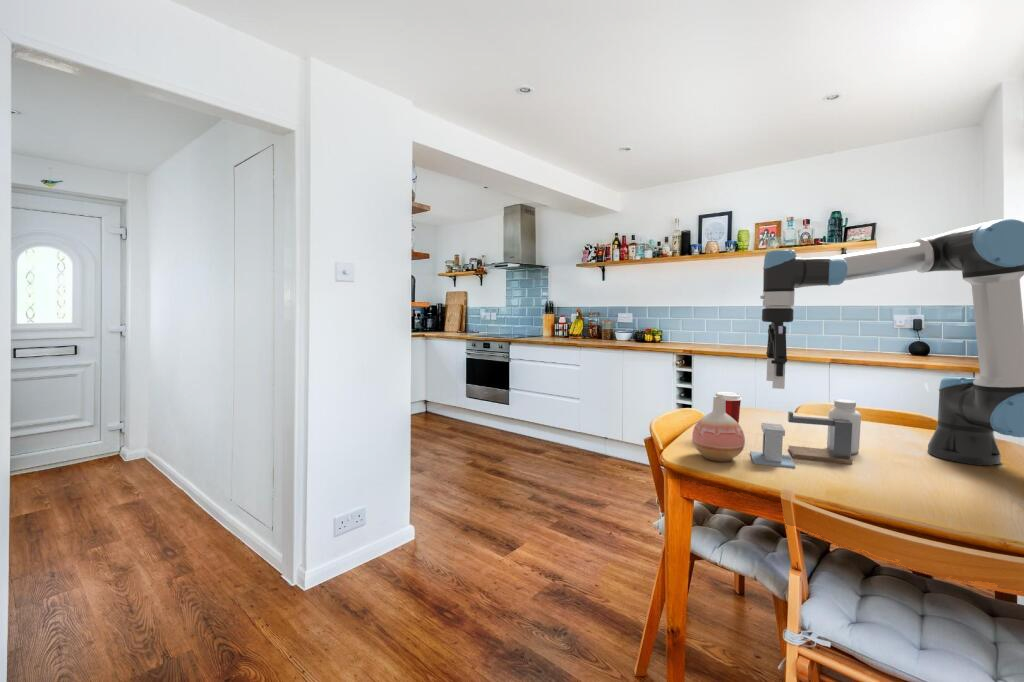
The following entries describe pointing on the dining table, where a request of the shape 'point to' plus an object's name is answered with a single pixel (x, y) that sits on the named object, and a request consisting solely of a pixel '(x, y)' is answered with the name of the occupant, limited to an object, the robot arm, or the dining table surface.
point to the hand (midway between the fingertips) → (774, 384)
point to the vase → (718, 434)
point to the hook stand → (838, 440)
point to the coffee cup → (731, 404)
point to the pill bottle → (847, 411)
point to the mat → (759, 459)
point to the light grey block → (772, 442)
